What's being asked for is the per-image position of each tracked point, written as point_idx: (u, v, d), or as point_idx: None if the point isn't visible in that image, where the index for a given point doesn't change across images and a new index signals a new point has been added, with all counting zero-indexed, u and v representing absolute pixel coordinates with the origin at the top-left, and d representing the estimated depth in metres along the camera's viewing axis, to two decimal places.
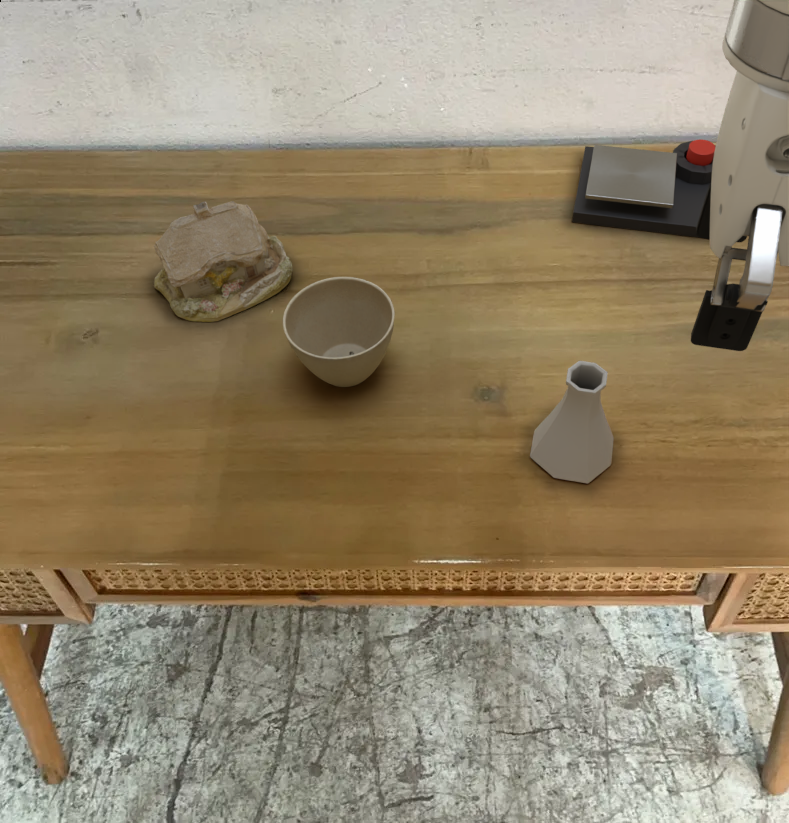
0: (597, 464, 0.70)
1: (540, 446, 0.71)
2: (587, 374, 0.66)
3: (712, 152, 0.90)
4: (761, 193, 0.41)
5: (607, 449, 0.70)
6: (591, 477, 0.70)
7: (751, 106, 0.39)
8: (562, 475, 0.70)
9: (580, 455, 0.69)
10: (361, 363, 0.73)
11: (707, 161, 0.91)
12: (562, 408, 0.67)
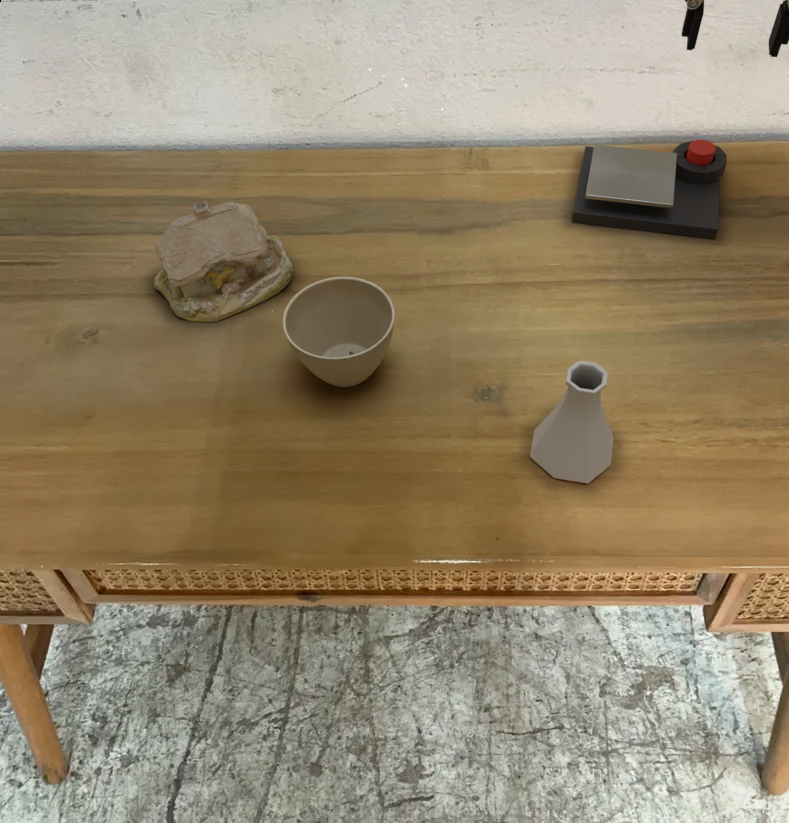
0: (597, 464, 0.70)
1: (540, 446, 0.71)
2: (587, 374, 0.66)
3: (712, 152, 0.90)
4: None
5: (607, 449, 0.70)
6: (591, 477, 0.70)
7: None
8: (562, 475, 0.70)
9: (580, 455, 0.69)
10: (361, 363, 0.73)
11: (707, 161, 0.91)
12: (562, 408, 0.67)
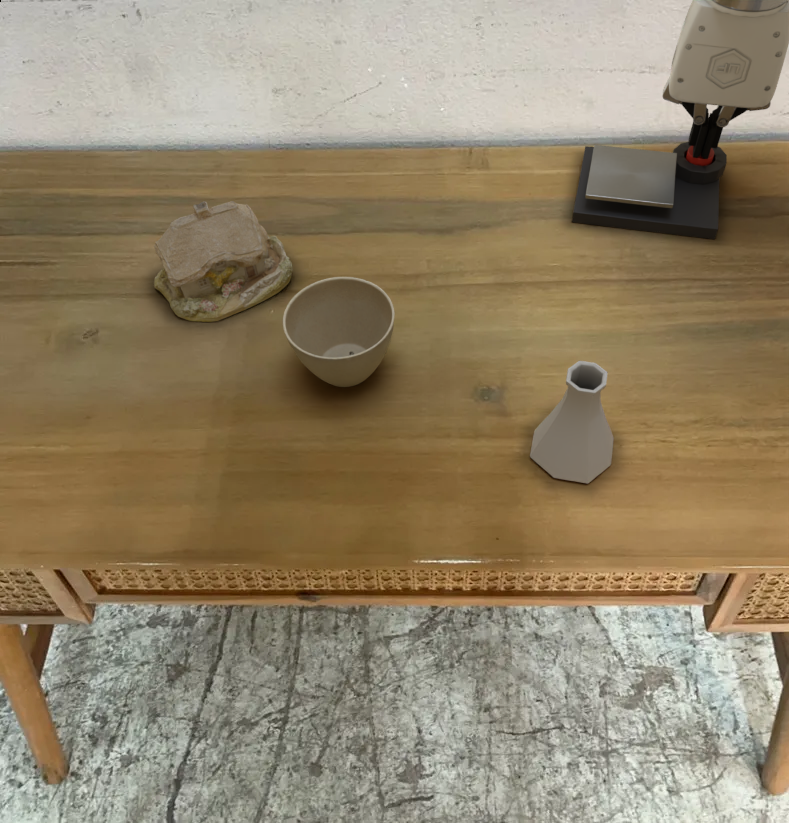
0: (597, 464, 0.70)
1: (540, 446, 0.71)
2: (587, 374, 0.66)
3: (711, 157, 0.91)
4: (679, 36, 0.83)
5: (607, 449, 0.70)
6: (591, 477, 0.70)
7: None
8: (562, 475, 0.70)
9: (580, 455, 0.69)
10: (361, 363, 0.73)
11: (705, 165, 0.91)
12: (562, 408, 0.67)
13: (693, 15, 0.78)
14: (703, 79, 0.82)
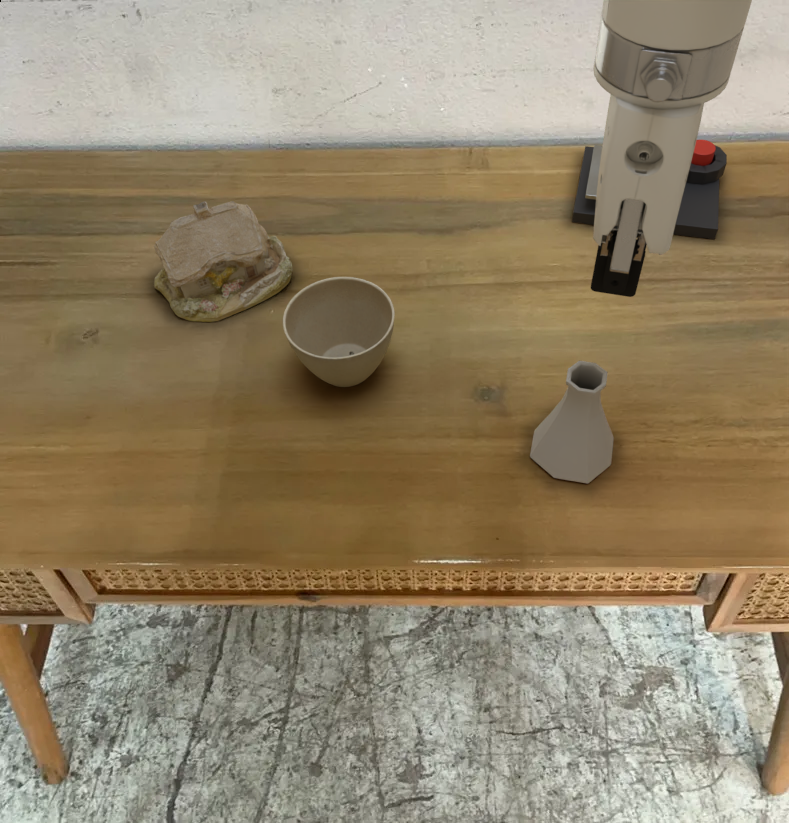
0: (597, 464, 0.70)
1: (540, 446, 0.71)
2: (587, 374, 0.66)
3: (712, 152, 0.90)
4: (625, 190, 0.48)
5: (607, 449, 0.70)
6: (591, 477, 0.70)
7: (612, 116, 0.47)
8: (562, 475, 0.70)
9: (580, 455, 0.69)
10: (361, 363, 0.73)
11: (706, 161, 0.91)
12: (562, 408, 0.67)
13: (687, 135, 0.45)
14: None
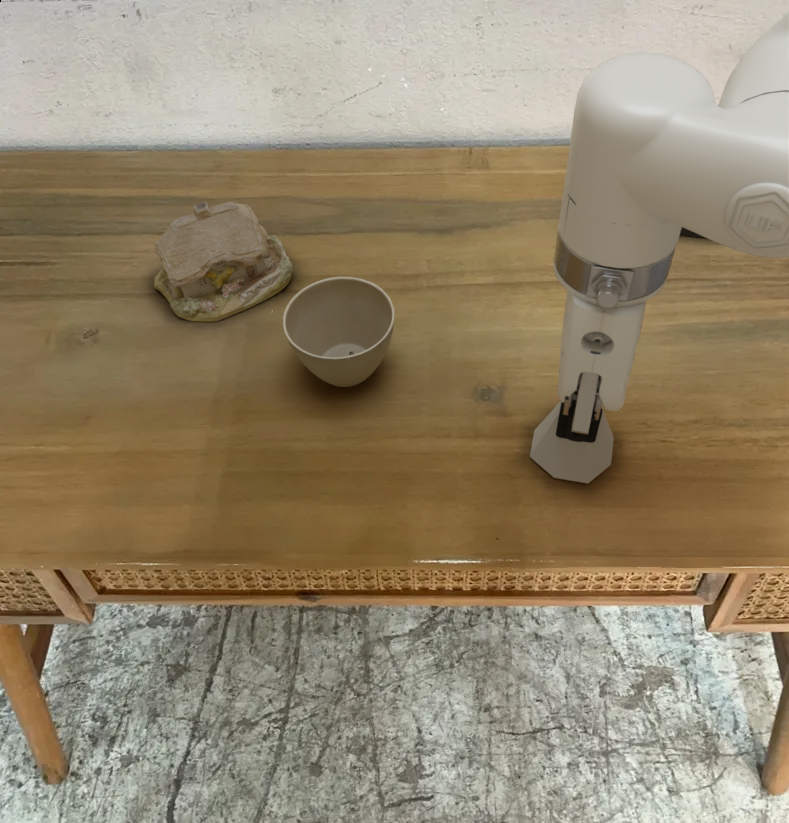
0: (597, 464, 0.70)
1: (540, 446, 0.71)
2: None
3: None
4: (582, 365, 0.57)
5: (607, 449, 0.70)
6: (591, 477, 0.70)
7: (570, 309, 0.55)
8: (562, 475, 0.70)
9: (580, 455, 0.69)
10: (361, 363, 0.73)
11: None
12: None
13: (633, 328, 0.54)
14: None
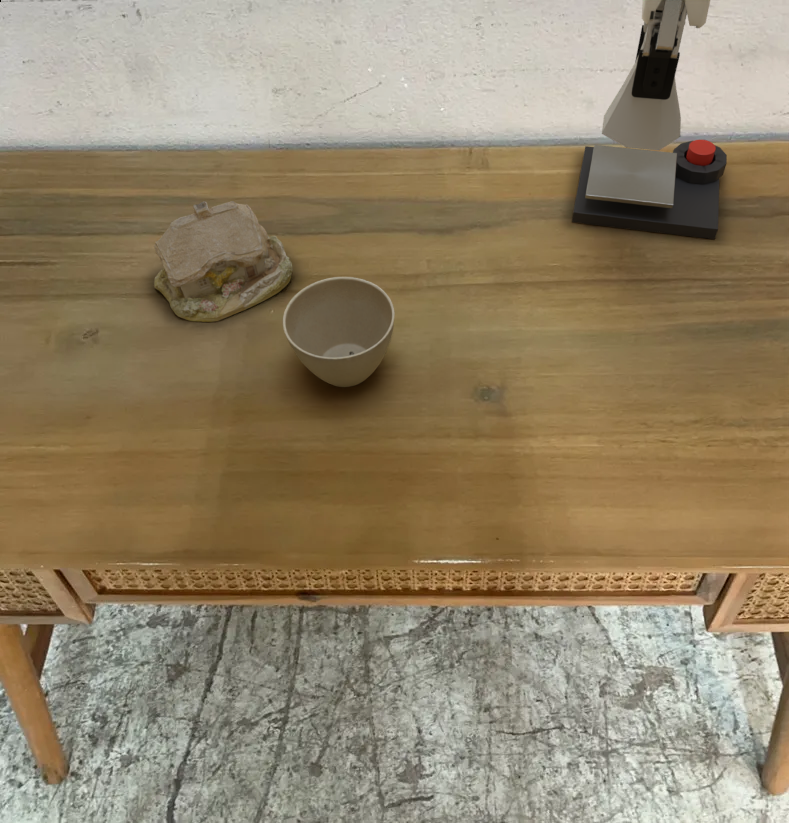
0: (668, 130, 0.73)
1: (612, 118, 0.74)
2: None
3: (712, 152, 0.90)
4: None
5: (677, 117, 0.73)
6: (662, 144, 0.73)
7: None
8: (635, 143, 0.74)
9: (653, 117, 0.72)
10: (361, 363, 0.73)
11: (706, 161, 0.91)
12: None
13: None
14: None
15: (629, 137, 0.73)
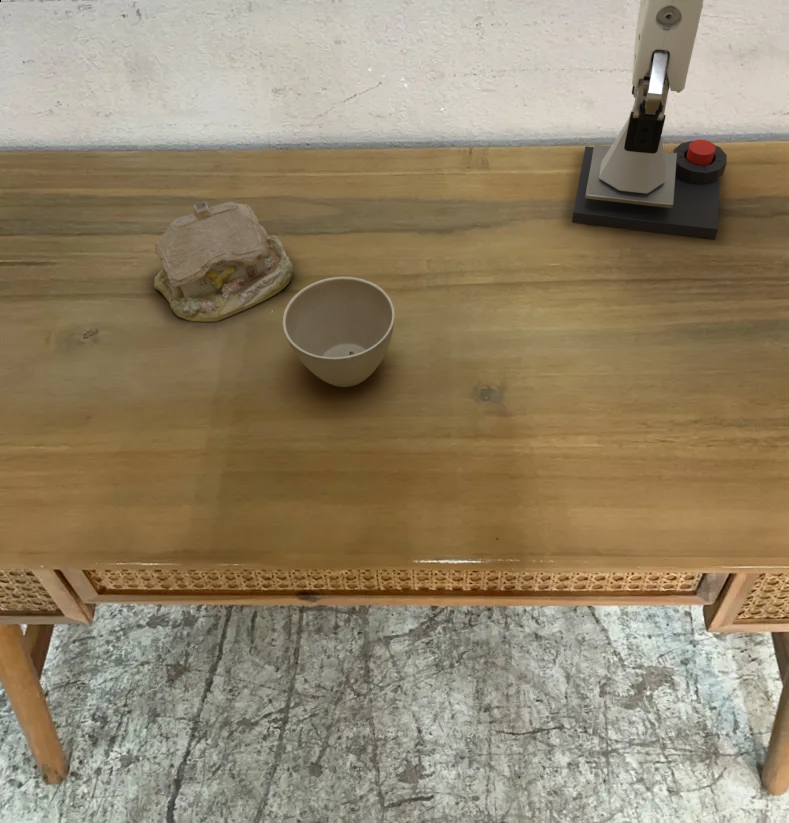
0: (655, 177, 0.87)
1: (608, 165, 0.88)
2: None
3: (712, 152, 0.90)
4: (655, 42, 0.73)
5: (662, 165, 0.87)
6: (650, 188, 0.87)
7: None
8: (626, 187, 0.87)
9: (642, 166, 0.86)
10: (361, 363, 0.73)
11: (706, 161, 0.91)
12: (628, 123, 0.84)
13: (697, 0, 0.70)
14: None
15: (622, 182, 0.87)
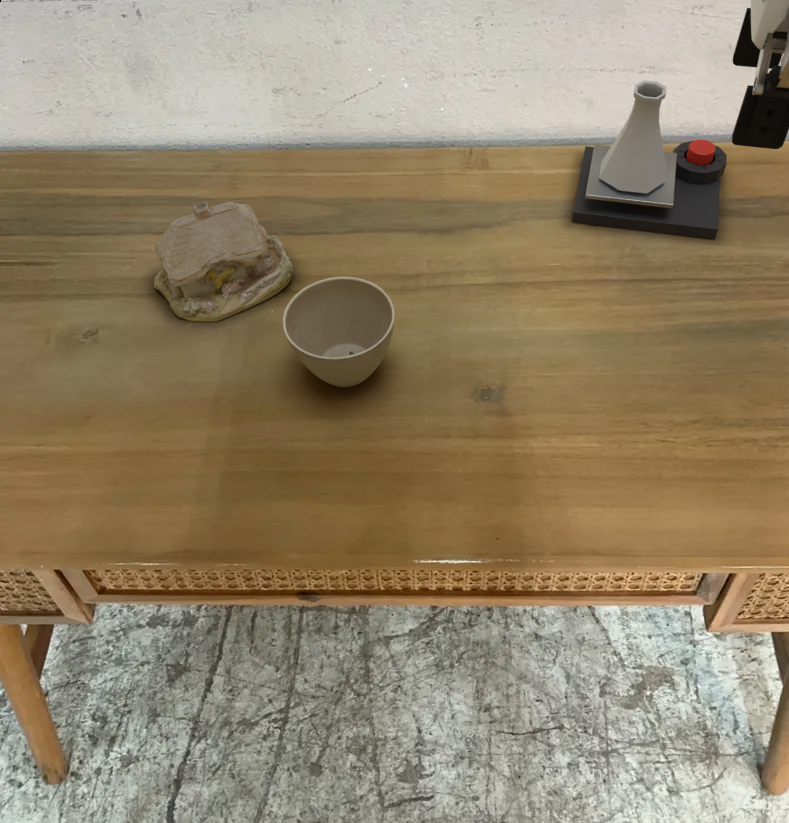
0: (655, 177, 0.87)
1: (608, 165, 0.88)
2: (649, 93, 0.83)
3: (712, 152, 0.90)
4: None
5: (662, 165, 0.87)
6: (650, 188, 0.87)
7: None
8: (626, 187, 0.87)
9: (642, 166, 0.86)
10: (361, 363, 0.73)
11: (706, 161, 0.91)
12: (628, 123, 0.84)
13: None
14: None
15: (622, 182, 0.87)
